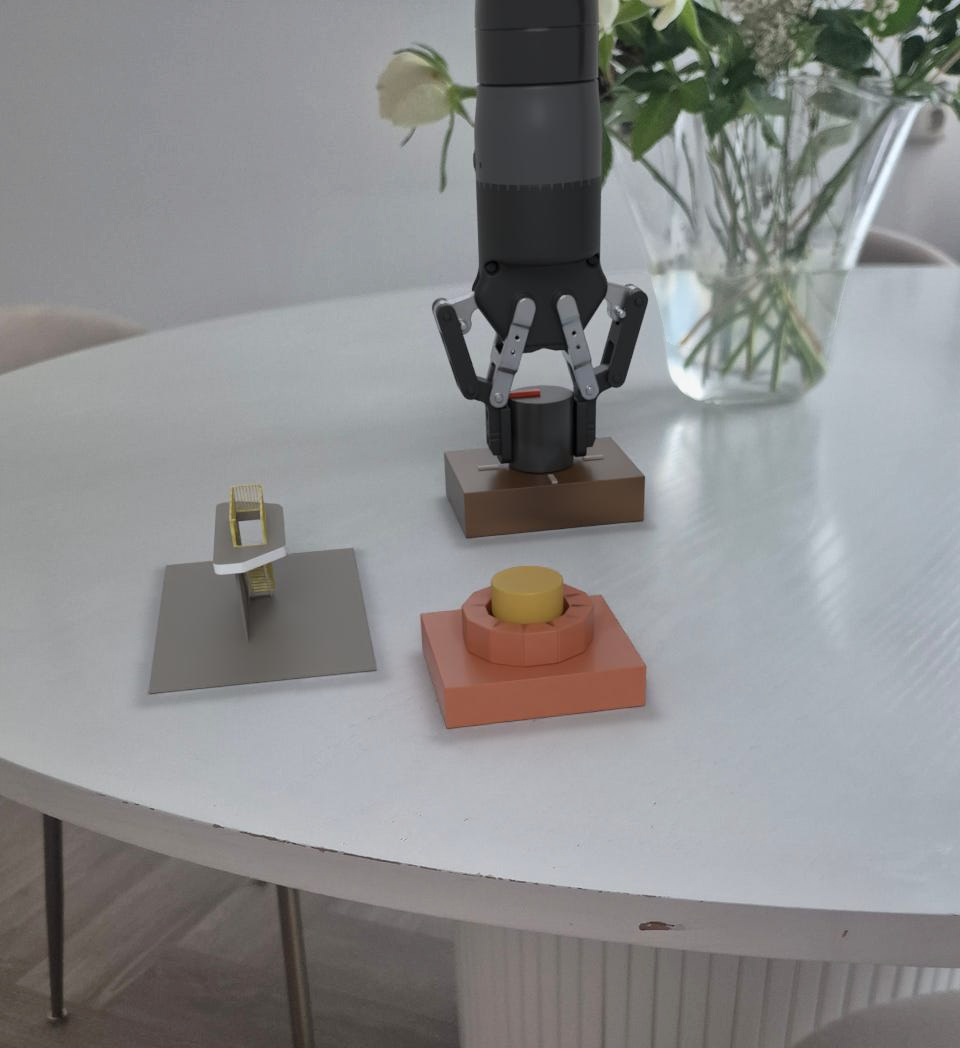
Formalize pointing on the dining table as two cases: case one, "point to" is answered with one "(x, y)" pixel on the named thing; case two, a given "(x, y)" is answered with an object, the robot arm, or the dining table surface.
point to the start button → (527, 594)
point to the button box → (530, 662)
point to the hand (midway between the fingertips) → (541, 455)
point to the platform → (259, 609)
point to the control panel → (543, 492)
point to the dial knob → (542, 428)
